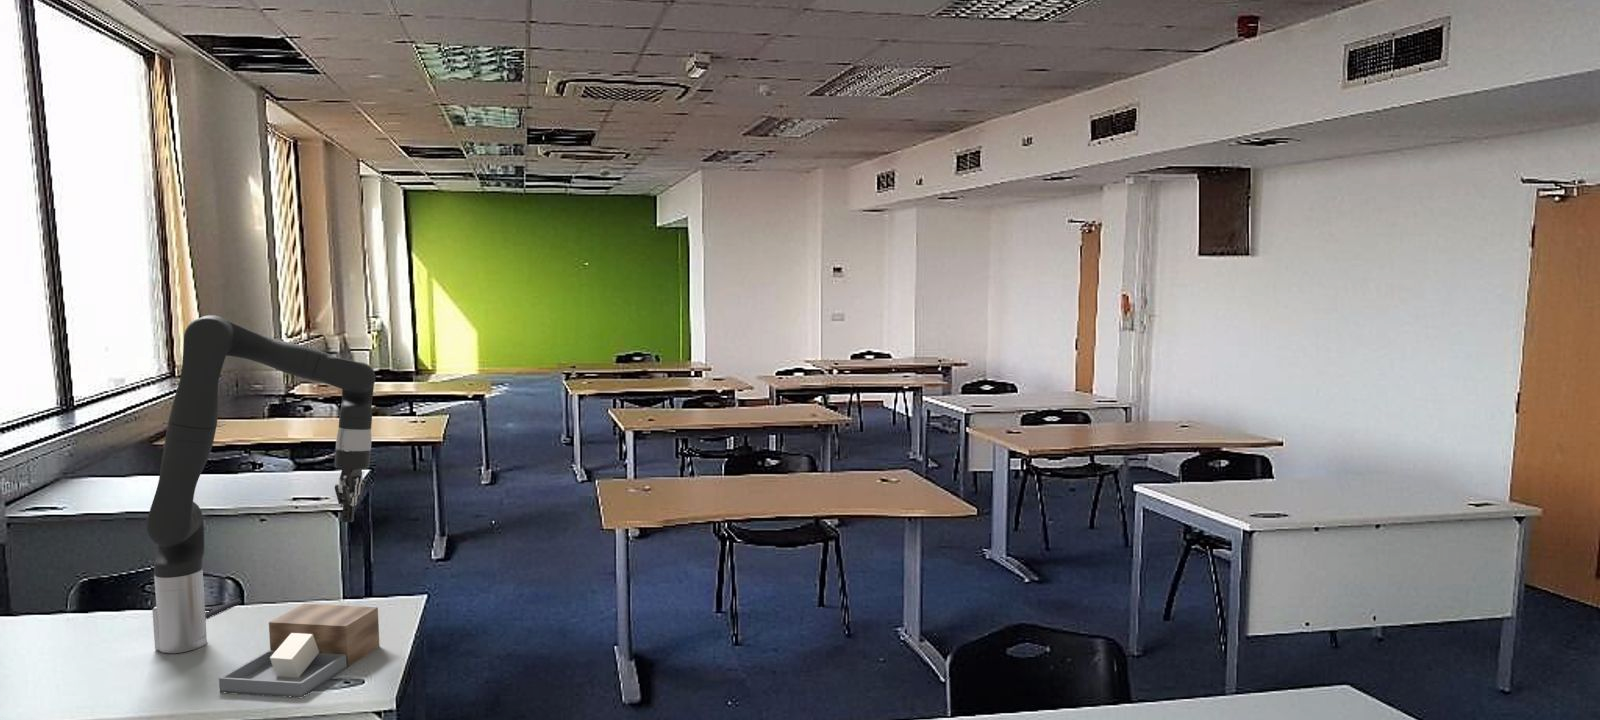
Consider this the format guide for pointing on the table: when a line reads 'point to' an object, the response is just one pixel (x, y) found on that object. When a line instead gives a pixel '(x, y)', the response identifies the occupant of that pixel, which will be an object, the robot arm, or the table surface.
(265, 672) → the box
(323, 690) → the table surface
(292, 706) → the table surface
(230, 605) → the bracket
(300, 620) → the walnut platform
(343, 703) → the table surface
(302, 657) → the cream block
